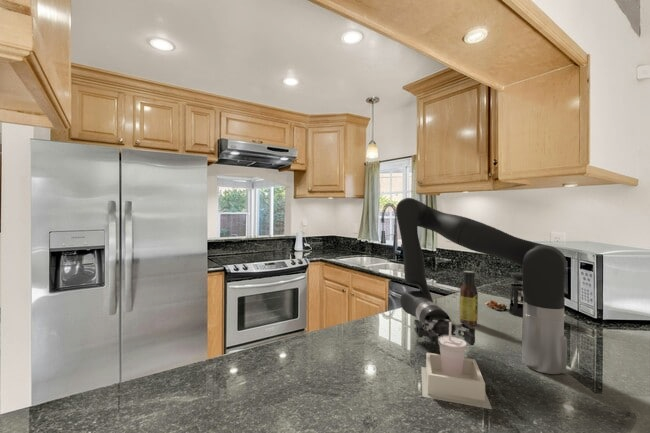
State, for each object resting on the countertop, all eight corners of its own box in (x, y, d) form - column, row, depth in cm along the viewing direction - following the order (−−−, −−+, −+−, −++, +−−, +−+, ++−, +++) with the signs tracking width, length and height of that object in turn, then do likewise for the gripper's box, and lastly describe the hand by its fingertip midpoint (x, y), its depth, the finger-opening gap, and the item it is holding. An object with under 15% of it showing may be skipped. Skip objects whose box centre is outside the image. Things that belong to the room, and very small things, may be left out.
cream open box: (474, 377, 77) (475, 359, 77) (484, 404, 66) (485, 383, 66) (426, 369, 80) (426, 352, 80) (427, 394, 69) (428, 374, 69)
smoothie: (442, 371, 78) (443, 316, 77) (469, 380, 73) (470, 323, 73) (433, 382, 73) (434, 323, 72) (461, 392, 69) (463, 330, 68)
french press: (502, 311, 132) (503, 258, 132) (515, 309, 137) (517, 257, 136) (531, 320, 122) (532, 263, 122) (544, 317, 126) (545, 261, 126)
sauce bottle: (479, 327, 113) (481, 273, 113) (461, 325, 115) (462, 272, 114) (474, 321, 120) (475, 270, 120) (457, 319, 121) (458, 269, 121)
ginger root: (492, 303, 146) (492, 296, 146) (511, 311, 134) (512, 303, 134) (479, 304, 145) (479, 296, 145) (497, 312, 133) (497, 304, 133)
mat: (478, 377, 78) (478, 375, 78) (492, 411, 64) (492, 409, 64) (421, 368, 82) (421, 366, 82) (422, 399, 68) (422, 396, 68)
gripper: (407, 304, 89) (424, 324, 72) (457, 305, 88) (485, 326, 72) (407, 329, 89) (423, 355, 73) (456, 331, 88) (484, 357, 72)
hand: (454, 340), depth 72 cm, fingers open, 8 cm apart
